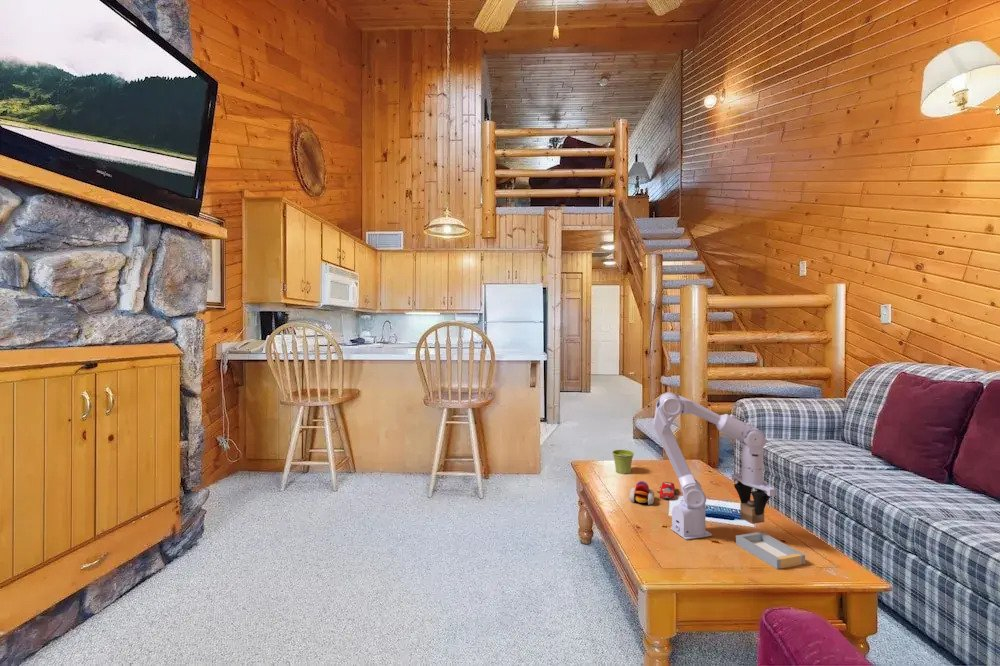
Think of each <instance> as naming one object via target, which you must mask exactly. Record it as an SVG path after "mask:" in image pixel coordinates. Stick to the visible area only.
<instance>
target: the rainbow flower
mask: <svg viewBox="0 0 1000 666" xmlns="http://www.w3.org/2000/svg"><path fill="white" fill-rule="evenodd" d="M654 499H655V491H653V490H652V489H650V488H649V484H648V483H647V482H646V481H643V480H640V481H638V482H637V483H636V484H635V486H634V487H632V488H631V489H630V493H629V501H630V502H632V503H635V501H636V502H638V503H640V504H644V503H647V505H649V506H650V505H653V504H654V501H655V500H654Z"/></svg>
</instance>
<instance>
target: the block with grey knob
mask: <svg viewBox="0 0 1000 666" xmlns="http://www.w3.org/2000/svg"><path fill="white" fill-rule="evenodd" d="M739 505H740V507H739V509H740V512H739V513H740V517H739V518H740V519H742V520H743V521H746V522H747V523H750V524H752V525H754V524H759V523H765V510H764V511H763V515H756V514H755V505H754V500H751V499H750V500H749V501H748V502H746V503H741V502H740V504H739Z"/></svg>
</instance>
